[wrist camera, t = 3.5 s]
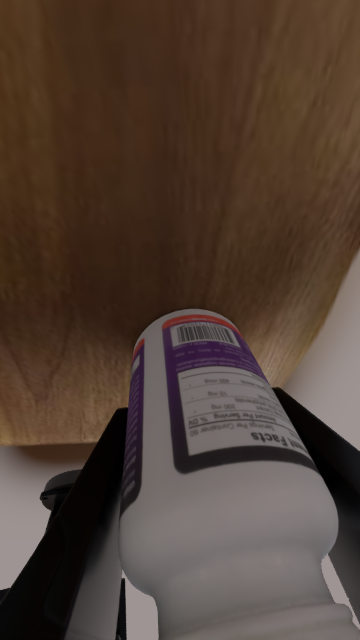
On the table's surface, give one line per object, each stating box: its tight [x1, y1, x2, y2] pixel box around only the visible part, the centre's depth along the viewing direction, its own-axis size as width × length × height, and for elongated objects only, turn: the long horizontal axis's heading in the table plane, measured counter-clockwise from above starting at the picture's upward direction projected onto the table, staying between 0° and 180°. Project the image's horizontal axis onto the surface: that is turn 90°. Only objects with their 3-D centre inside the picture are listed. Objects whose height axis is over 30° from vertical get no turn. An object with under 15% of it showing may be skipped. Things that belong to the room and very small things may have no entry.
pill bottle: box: [118, 309, 360, 640], centre depth 8 cm, size 5×5×10 cm
